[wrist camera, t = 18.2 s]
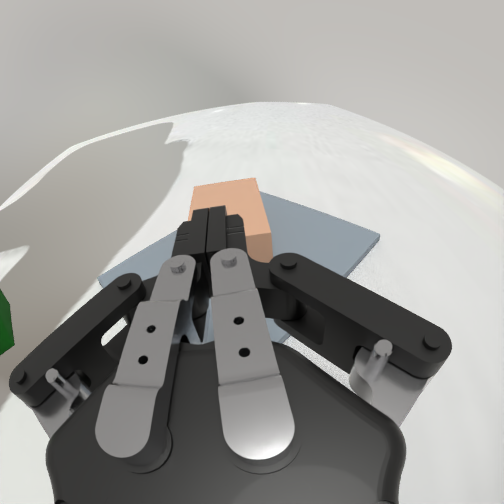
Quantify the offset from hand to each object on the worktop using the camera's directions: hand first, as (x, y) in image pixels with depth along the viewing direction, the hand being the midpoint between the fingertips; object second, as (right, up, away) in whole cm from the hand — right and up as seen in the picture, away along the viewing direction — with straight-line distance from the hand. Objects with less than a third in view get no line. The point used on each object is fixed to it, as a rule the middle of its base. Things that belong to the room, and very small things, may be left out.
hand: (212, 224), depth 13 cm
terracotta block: (0, -2, +7) cm, 7 cm away
